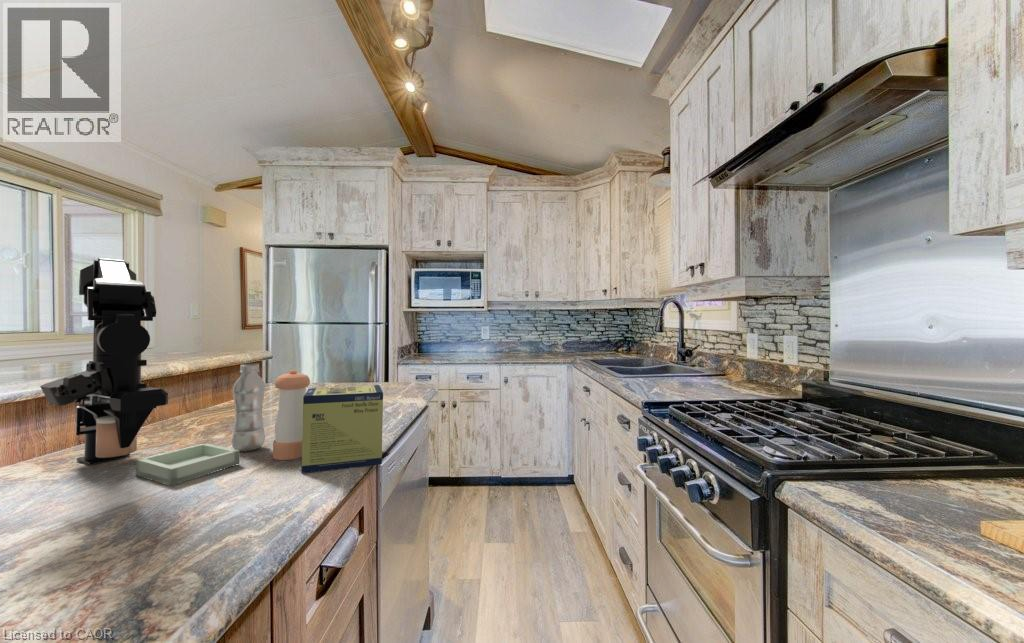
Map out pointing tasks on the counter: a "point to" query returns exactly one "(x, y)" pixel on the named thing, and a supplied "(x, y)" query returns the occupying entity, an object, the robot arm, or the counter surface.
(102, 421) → the spice pot
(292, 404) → the pepper shaker
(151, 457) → the tray
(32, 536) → the counter surface
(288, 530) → the counter surface
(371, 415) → the protein box
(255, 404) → the plastic bottle
